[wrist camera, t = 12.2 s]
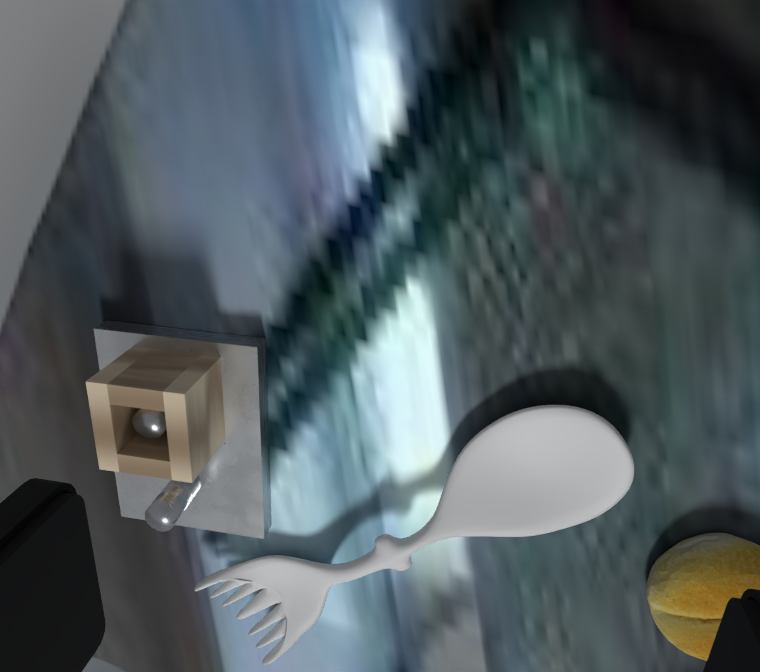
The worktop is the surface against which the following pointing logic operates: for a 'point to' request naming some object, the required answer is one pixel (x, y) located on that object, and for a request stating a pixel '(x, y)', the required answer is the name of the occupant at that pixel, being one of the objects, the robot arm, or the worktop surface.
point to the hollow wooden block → (161, 393)
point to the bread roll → (700, 587)
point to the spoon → (460, 510)
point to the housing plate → (231, 460)
